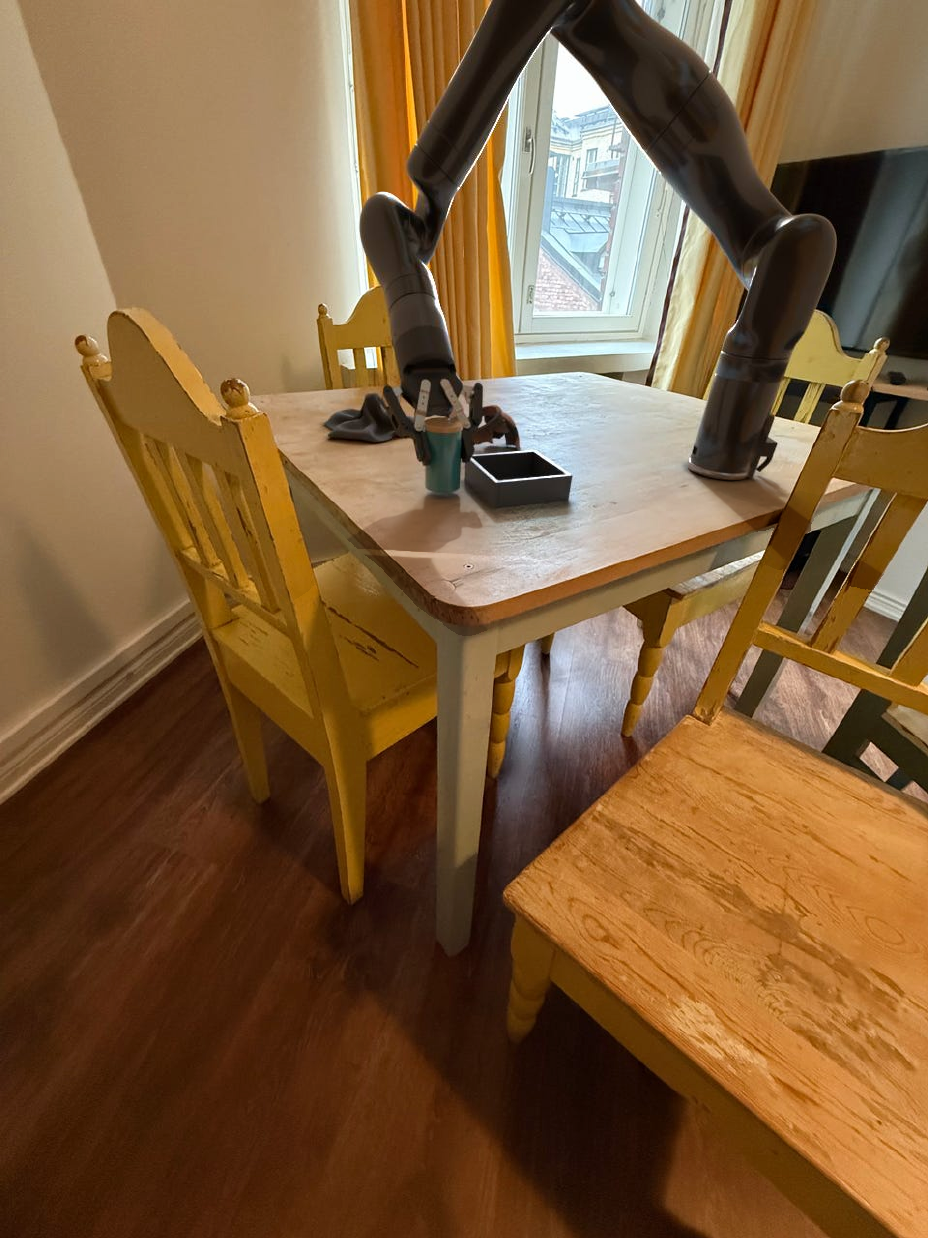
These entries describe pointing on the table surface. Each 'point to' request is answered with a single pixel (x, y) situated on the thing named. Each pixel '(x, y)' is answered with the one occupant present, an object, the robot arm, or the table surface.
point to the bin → (517, 479)
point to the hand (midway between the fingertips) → (447, 460)
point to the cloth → (364, 422)
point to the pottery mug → (496, 428)
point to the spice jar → (444, 454)
